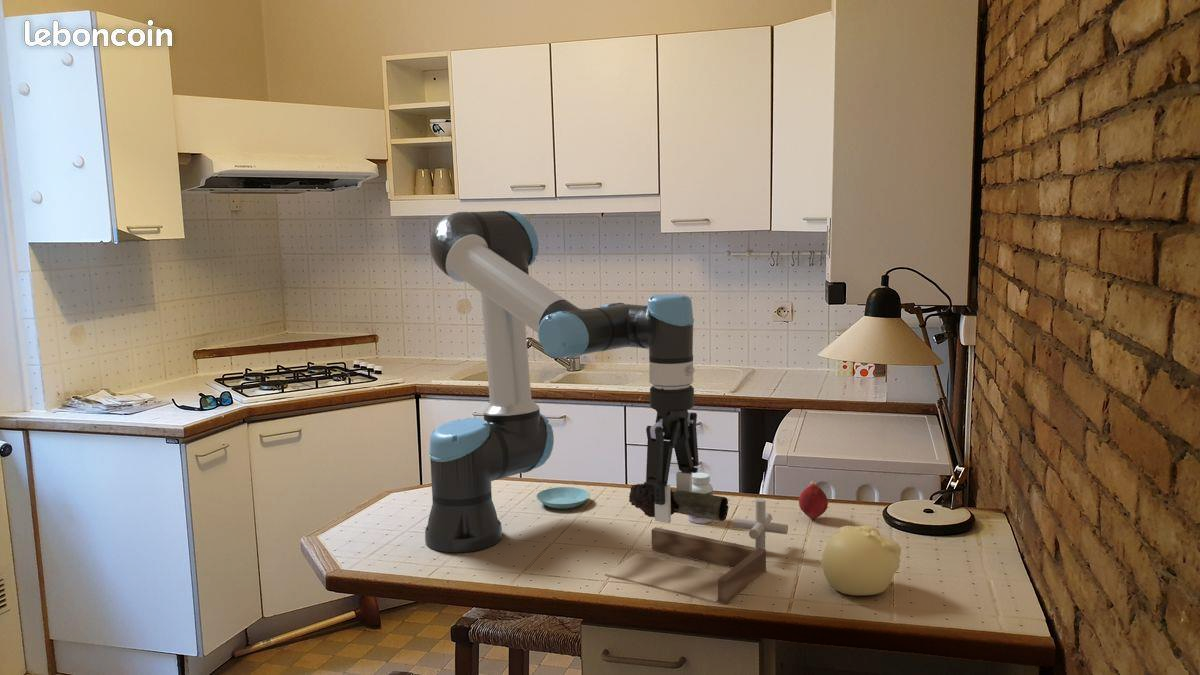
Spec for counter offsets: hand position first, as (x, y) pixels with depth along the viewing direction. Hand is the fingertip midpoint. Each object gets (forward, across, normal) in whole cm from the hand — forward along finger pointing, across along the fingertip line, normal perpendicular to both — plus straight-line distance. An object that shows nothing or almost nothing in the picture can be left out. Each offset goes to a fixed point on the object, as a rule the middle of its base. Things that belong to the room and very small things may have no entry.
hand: (673, 514), depth 156 cm
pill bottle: (+12, +29, +10) cm, 33 cm away
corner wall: (+11, +3, -1) cm, 12 cm away
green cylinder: (0, 0, 0) cm, 0 cm away
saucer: (+12, +23, +41) cm, 49 cm away
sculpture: (+12, +12, -29) cm, 33 cm away
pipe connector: (+12, +19, -8) cm, 24 cm away
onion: (+12, +41, -10) cm, 44 cm away
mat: (+11, 0, 0) cm, 11 cm away
